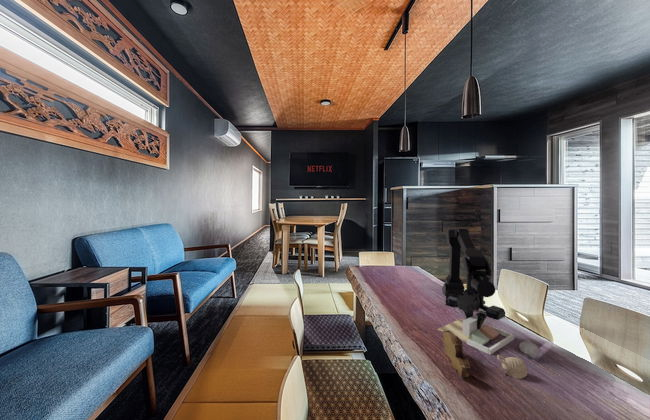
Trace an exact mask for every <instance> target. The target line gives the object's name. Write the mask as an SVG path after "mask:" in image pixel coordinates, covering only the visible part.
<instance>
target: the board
mask: <svg viewBox="0 0 650 420" xmlns="http://www.w3.org/2000/svg"><path fill="white" fill-rule="evenodd" d="M463 320H465V319H464V318H460V319H457V320H455V321H452V322H449V323H448V324H446V325H444V326H441V327H439V328H437V331H441V332H442V333H443V331H450V332H453V334H454V335H455V336H457V337H458V338H459V339H461V341H462V342H464V343H466V344H467V339H469V337H468V336H466V335H464V334H462V331H463ZM469 340H470V339H469Z"/></svg>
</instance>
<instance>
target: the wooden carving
mask: <svg viewBox="0 0 650 420" xmlns="http://www.w3.org/2000/svg"><path fill="white" fill-rule="evenodd" d="M442 336H443V337H442V338H441V341H442V342H443V344H444V347H443V348H444V351H445V353H446V355H447V356H448V358H449V360H448V361H449V363H450V365H451V366H452V367H453V369H454V370H456V371H457V373H458V374H459V376H460V377H461V378H466V377H467V378H469V377H470V373H471V372H472V367H471V363H470V361H469V360H468V357H467V356H464V354H463V352H464V350H463V346H464V345H463V341H461V339H459V338H458V337H457V336H455V335H454V334H453V332H450V331H443V332H442Z"/></svg>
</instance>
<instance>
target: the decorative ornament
mask: <svg viewBox="0 0 650 420" xmlns="http://www.w3.org/2000/svg"><path fill="white" fill-rule="evenodd" d="M496 358H497V360H498V361H499V362H501V367H502V369H504V370H506V371H507V372H506V373H505V374H506V375H508V376H509V377H512V378H514V379H519V380H520V379H521V380H522V379H524V378H526V377H527V376H528V373H527V366H526V364H525V362H524V361H523V360H522V359H521V358H519V357H514V356H509V357H504V356H502V355H500V354H497V356H496Z"/></svg>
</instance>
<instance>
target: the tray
mask: <svg viewBox="0 0 650 420" xmlns="http://www.w3.org/2000/svg"><path fill="white" fill-rule="evenodd" d="M490 327H491V328H492V329H494V330H495V331H496V332H497V333H499V335H500V336H504V337H505V338H503V339H501V340H499V342H497V343H494V344H493V345H491V346H490V347H487V346H484V345H481V344H478V343H476V342H474V341H472V340H469V339H467V343H466V345H468V346H471V347H473V348H475V349H476V350H479V351H481V352H483V353H485V354H488V355H489V356H490V355H492V354H494V353H495V352H497V351H498V350H500V349H501V348H503V347H504V346H506V345H508V344H509V343H511V342H512V341H514V340H515V338H516V334H514V333H511V332H508V331H506V330H503V329H501V328H497V327H496V326H494V325H493V326H492V325H491V326H490Z"/></svg>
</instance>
